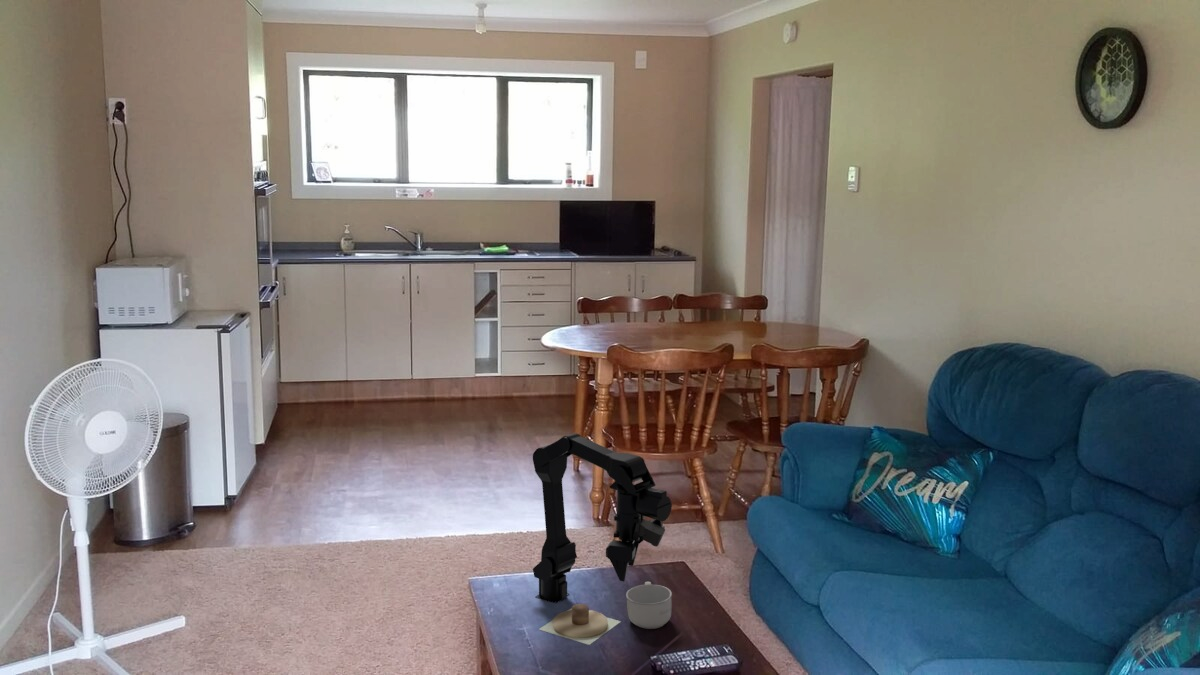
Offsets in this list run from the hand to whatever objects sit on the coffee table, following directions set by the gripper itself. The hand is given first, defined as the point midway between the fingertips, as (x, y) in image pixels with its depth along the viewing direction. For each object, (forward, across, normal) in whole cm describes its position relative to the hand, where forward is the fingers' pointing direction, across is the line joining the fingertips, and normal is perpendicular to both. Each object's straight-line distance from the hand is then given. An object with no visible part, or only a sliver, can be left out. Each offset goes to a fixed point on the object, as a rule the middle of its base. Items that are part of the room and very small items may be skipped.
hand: (626, 573), depth 230 cm
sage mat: (+13, -4, +10) cm, 17 cm away
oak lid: (+13, -4, +10) cm, 17 cm away
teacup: (+13, +4, -5) cm, 15 cm away
